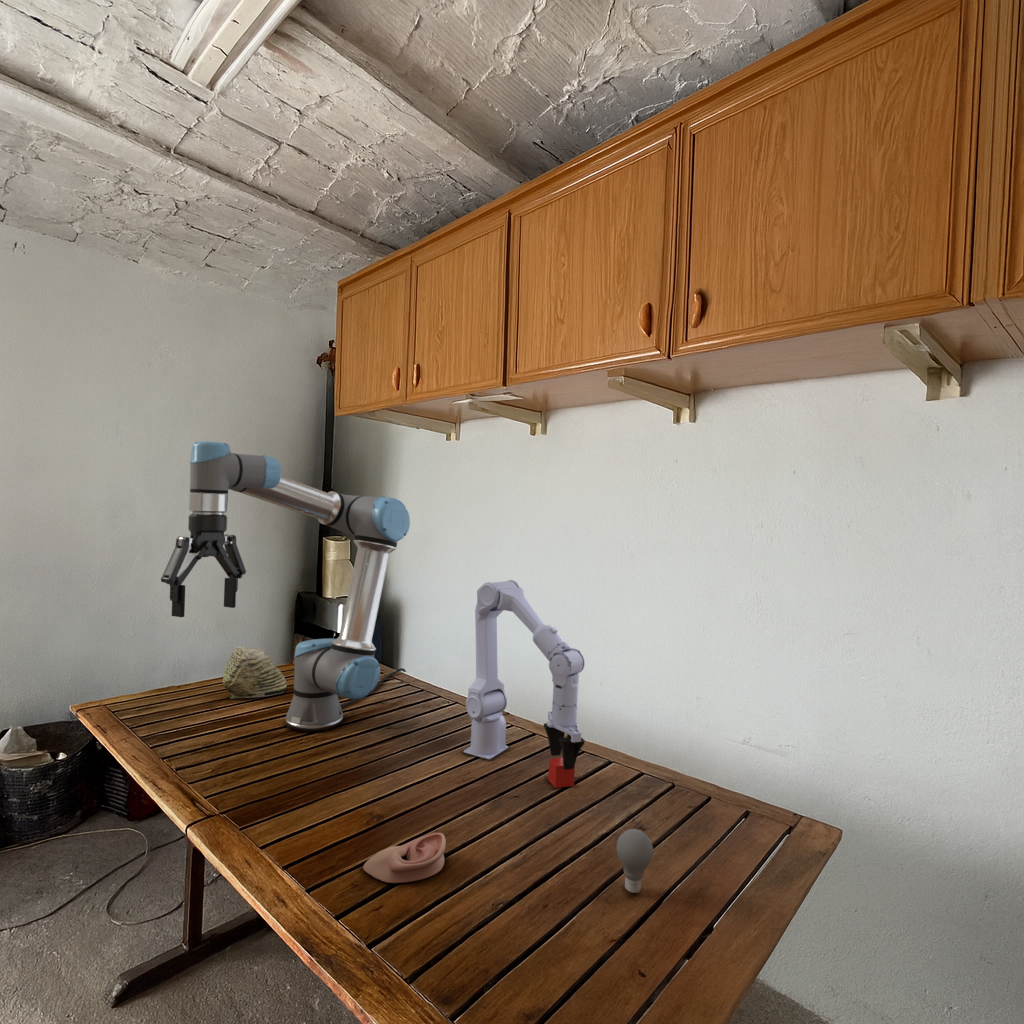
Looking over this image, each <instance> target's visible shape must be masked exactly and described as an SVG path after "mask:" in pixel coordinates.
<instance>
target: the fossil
mask: <svg viewBox="0 0 1024 1024" xmlns="http://www.w3.org/2000/svg"><path fill="white" fill-rule="evenodd" d="M222 676H223V677H222V685H223V687H224V688H225V690H226V691H228V693H229V698H230V699H250V698H264V697H271V696H275V695H281V694H284V693H285V691H286V689H287V687H288V686H287V680H286V678H285V676H284V674H283V673H282V672H281V669H279V668H278V667H277V665H276V663H275V662H274V660H273V659H272V658H271V657H270V656H269V655H268V654H267V653H266V652H265V650H264V649H263V648H260V647H258V648H251V647H247V646H246V647H245V646H238V647H237V648H236V649H235V650H233V651H232V653H231V656H230V657H229V659H228V660H227V663H226V666H225V668H224V671H223V675H222Z"/></svg>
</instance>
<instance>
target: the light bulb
mask: <svg viewBox="0 0 1024 1024" xmlns="http://www.w3.org/2000/svg"><path fill="white" fill-rule="evenodd" d="M615 849H616V854H617V857H618V859H619V861H620V863H621V865H622V867H623V873H624V874H623V875H624V876H625V878H624V888H625V890H627V891H628V892H630V893H634V894H635V893H639V892H640V891H641V889H642V887H641V886H642V879H643V877H644V875H645V871H646V868H647V867H648V866H649V864H650V863H651V861H652V859H653V855H654V847H653V843H652V841H651V838H649V836H648V835H647V834H646V833H645V832H643V831H642V830H641V829H636V828H629V829H627V830H625V831H623V832H622V833H621V834H620V835H619V837H618V839H617V841H616V847H615Z"/></svg>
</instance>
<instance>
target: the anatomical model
mask: <svg viewBox="0 0 1024 1024" xmlns="http://www.w3.org/2000/svg"><path fill="white" fill-rule="evenodd" d="M446 845H447V841H446V835H444V834H443V833H442V832H433V833H429V834H426V835H422V836H420V837H418V838H415V839H413V840H411V841H409V842H406V843H404V844H402V845H395V846H390V847H386V848H384V849H382V850H380V851H378V852H377V853H375V854H374V855H372V856H371V857H370V858H368V859H367V860H366V862H364V864H363V867H362V869H363V871H365V873H367V874H368V875H370V876H371V877H373V878H374V879H376V880H379V881H381V882H384V883H388V884H399V883H400V884H401V883H409V882H410V883H411V882H416V881H420V880H424V879H427V878H429V877H432V876H435V875H436V874H438V873H439V872H440V871H442V869H443V868H444V865H445V855H444V853H445V850H446Z"/></svg>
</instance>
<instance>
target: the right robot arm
mask: <svg viewBox="0 0 1024 1024" xmlns="http://www.w3.org/2000/svg"><path fill="white" fill-rule="evenodd" d="M504 611H507V612H512V613H513V614H514V615H515V616H516V617H517V618H518V619H519V620H520V621H521V622H522V624H523V625H524V626H525V627H526V628H527V629H528V630H529V631H530V632H531V633H532V642H533V643H534V645H535V646H536V647H537V648H538V649H539V651H540V652H541V653H542V655H543V656H544V657H545V658H546V659H547V661H548V668H549V671H550V673H551V676H552V685H553V687H552V703H551V711H548V712H547V720H548V721H546V722H545V723H543V728H544V730H545V733H546V736H547V740H548V746H549V752H550V756H551V757H554V756H556V757H557V756H561V755H562V758H563V766H564V769H565V770H568V769H573V768H574V765H575V766H576V762H577V758H578V755H579V753H580V751H581V749H582V748H583V746H584V745H585V743H586V741H585V739H584V738H583V737H582V732H581V731H580V730H579V729H580V728H579V724H578V722H577V721H578V719H577V718H578V703H579V702H578V699H579V682H580V681H579V680H580V673H581V672H582V671H583V670H584V668H585V664H586V663H585V658H584V655H583V654H582V653H581V650H579V649H578V648H575V647H571V645H569V644H568V643H567V642H566V641H565V639H563V638H562V636H561V635H560V634H559V631H558V629H557V628H556V627H555V626H552V625H551V624H544V622H543V621H542V619H541V617H540V616H539V615H538V613H537V612H536V610H534V608H533V607H532V605H531V603H529V601H528V600H527V598H526V597H525V590H524V589H523V588H522V587H521V586H520V585H519V582H517V581H515V580H513V579H509V580H505V581H494V582H490V581H487V582H484V583H483V584H482V585H481V586H480V587H479V588H478V589H477V590H476V604H475V611H474V618H475V619H474V620H475V621H474V623H475V627H474V628H475V680H474V681H473V682H472V684H470V686H468V689H467V697H466V700H465V709H466V712H467V714H468V716H469V718H470V719H471V725H470V728H471V729H470V746H469V747H467V748H466V749H464V750H463V753H464V754H467V755H471V756H475V757H478V758H481V759H484V760H492V759H493V758H495V757H497V756H498V755H500V754H501V753H503V752H504V751H506V750H507V749H509V746H508V745H506V736H507V722H506V718H505V716H504V715H503V712H504V711H505V710H506V709H507V707H508V697H507V694H506V691H505V684H504V682H503V681H501V680H500V679H499V676H498V675H499V674H498V673H499V671H498V617H499V616H500V615H501V614H502V613H503V612H504ZM565 735H566V736H565ZM561 753H562V754H561Z"/></svg>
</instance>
